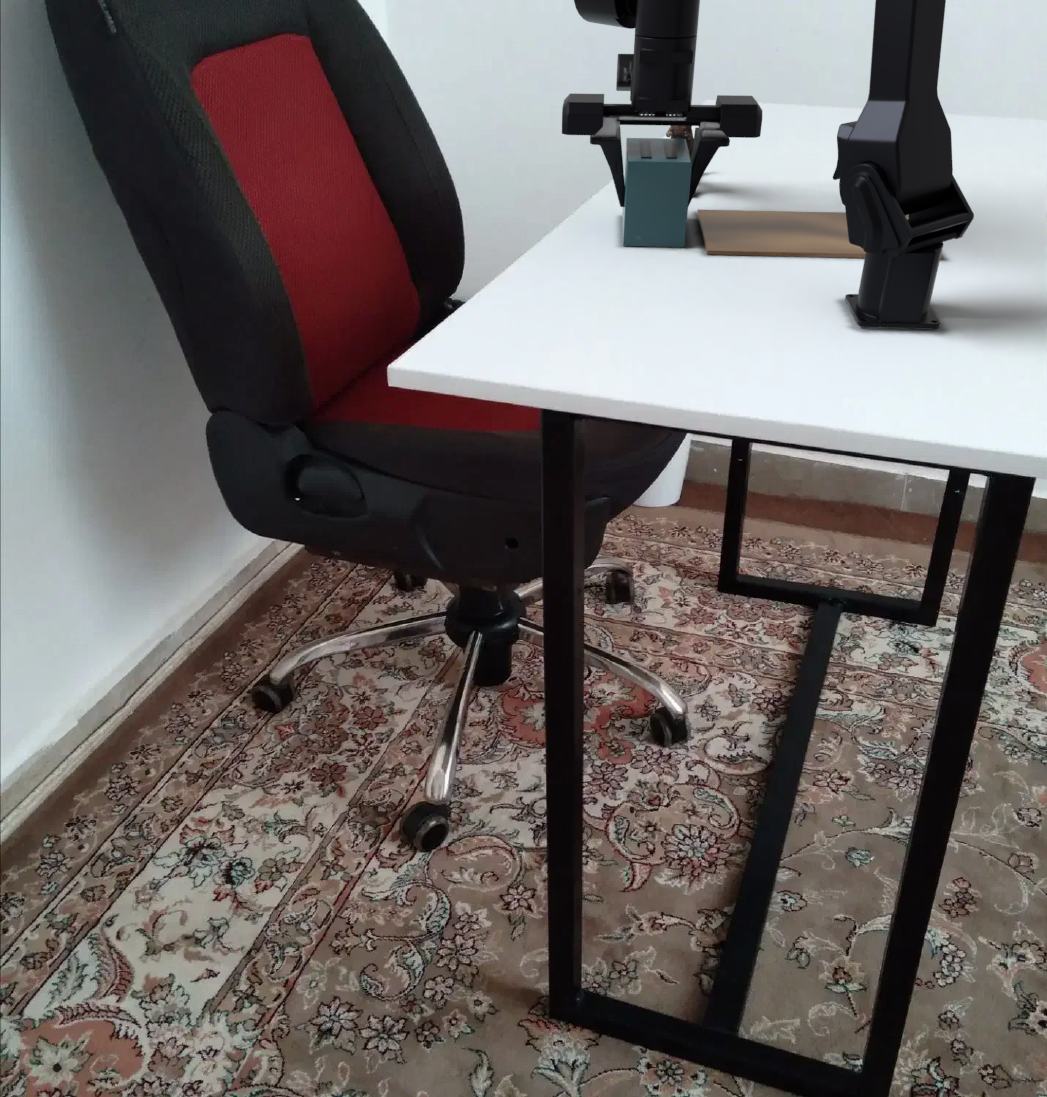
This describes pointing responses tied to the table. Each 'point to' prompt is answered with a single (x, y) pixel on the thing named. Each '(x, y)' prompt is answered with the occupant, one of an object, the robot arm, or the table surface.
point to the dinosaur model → (682, 136)
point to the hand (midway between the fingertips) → (654, 206)
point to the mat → (777, 233)
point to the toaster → (656, 192)
